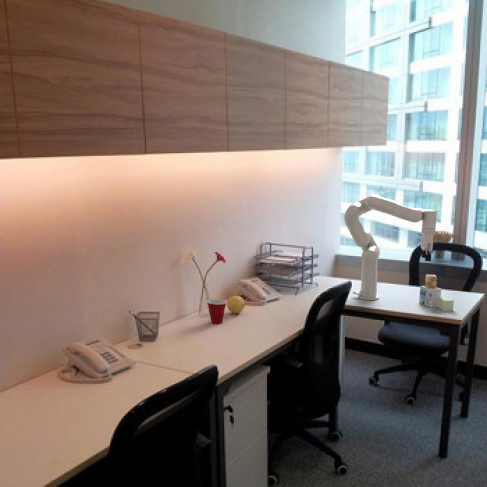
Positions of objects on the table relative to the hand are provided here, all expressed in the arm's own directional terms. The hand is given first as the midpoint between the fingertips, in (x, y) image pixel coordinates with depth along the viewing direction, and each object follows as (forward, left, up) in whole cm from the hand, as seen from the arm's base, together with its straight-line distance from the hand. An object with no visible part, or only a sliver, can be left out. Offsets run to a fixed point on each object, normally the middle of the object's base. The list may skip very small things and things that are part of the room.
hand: (426, 259), depth 305 cm
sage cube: (+10, -12, -27) cm, 31 cm away
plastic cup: (-117, -49, -27) cm, 130 cm away
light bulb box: (+3, -4, -27) cm, 27 cm away
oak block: (+3, -4, -16) cm, 16 cm away
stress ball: (-109, -32, -27) cm, 117 cm away
